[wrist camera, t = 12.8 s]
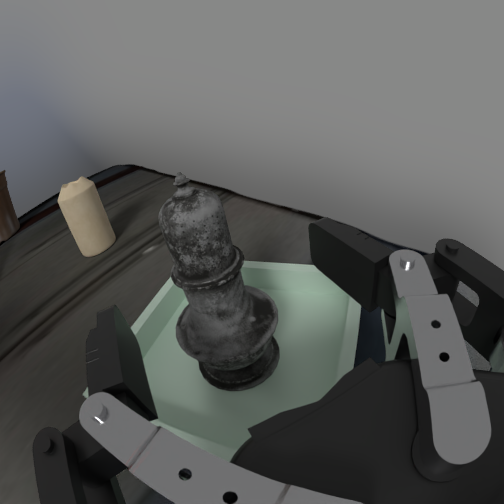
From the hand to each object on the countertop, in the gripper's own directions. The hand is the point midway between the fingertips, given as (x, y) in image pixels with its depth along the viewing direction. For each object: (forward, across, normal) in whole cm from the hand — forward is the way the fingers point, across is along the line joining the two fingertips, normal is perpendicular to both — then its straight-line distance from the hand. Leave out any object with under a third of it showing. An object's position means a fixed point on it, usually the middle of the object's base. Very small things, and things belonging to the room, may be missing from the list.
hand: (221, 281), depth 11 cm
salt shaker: (+3, 0, +9) cm, 9 cm away
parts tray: (+3, 0, +9) cm, 9 cm away
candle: (+30, +10, +9) cm, 33 cm away
